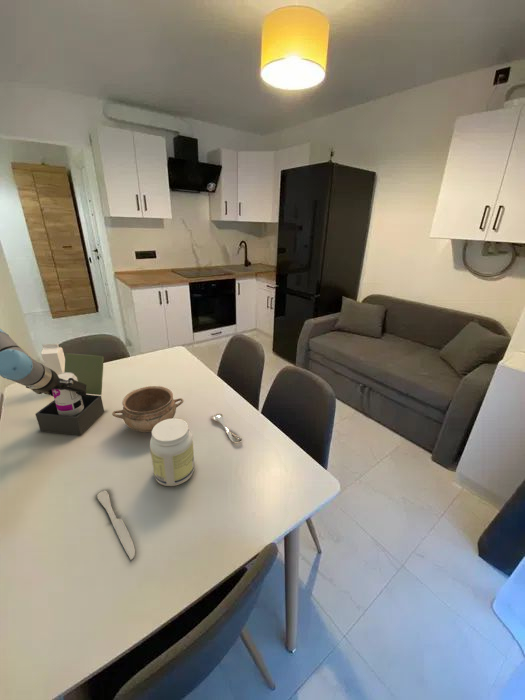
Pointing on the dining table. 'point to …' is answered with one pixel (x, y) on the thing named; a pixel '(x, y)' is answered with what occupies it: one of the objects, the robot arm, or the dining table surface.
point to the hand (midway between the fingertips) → (72, 394)
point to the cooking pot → (148, 407)
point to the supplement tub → (172, 452)
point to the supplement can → (67, 398)
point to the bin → (70, 417)
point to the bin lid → (86, 370)
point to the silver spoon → (220, 419)
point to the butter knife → (117, 524)
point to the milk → (53, 357)
